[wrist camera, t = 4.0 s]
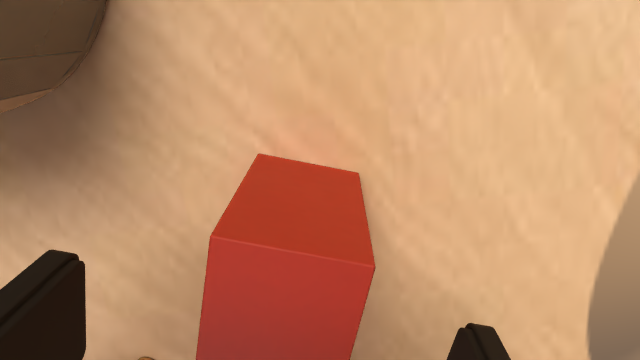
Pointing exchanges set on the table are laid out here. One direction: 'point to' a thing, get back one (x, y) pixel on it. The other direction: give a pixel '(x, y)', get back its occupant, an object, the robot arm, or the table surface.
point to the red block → (287, 266)
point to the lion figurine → (145, 358)
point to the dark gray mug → (43, 45)
